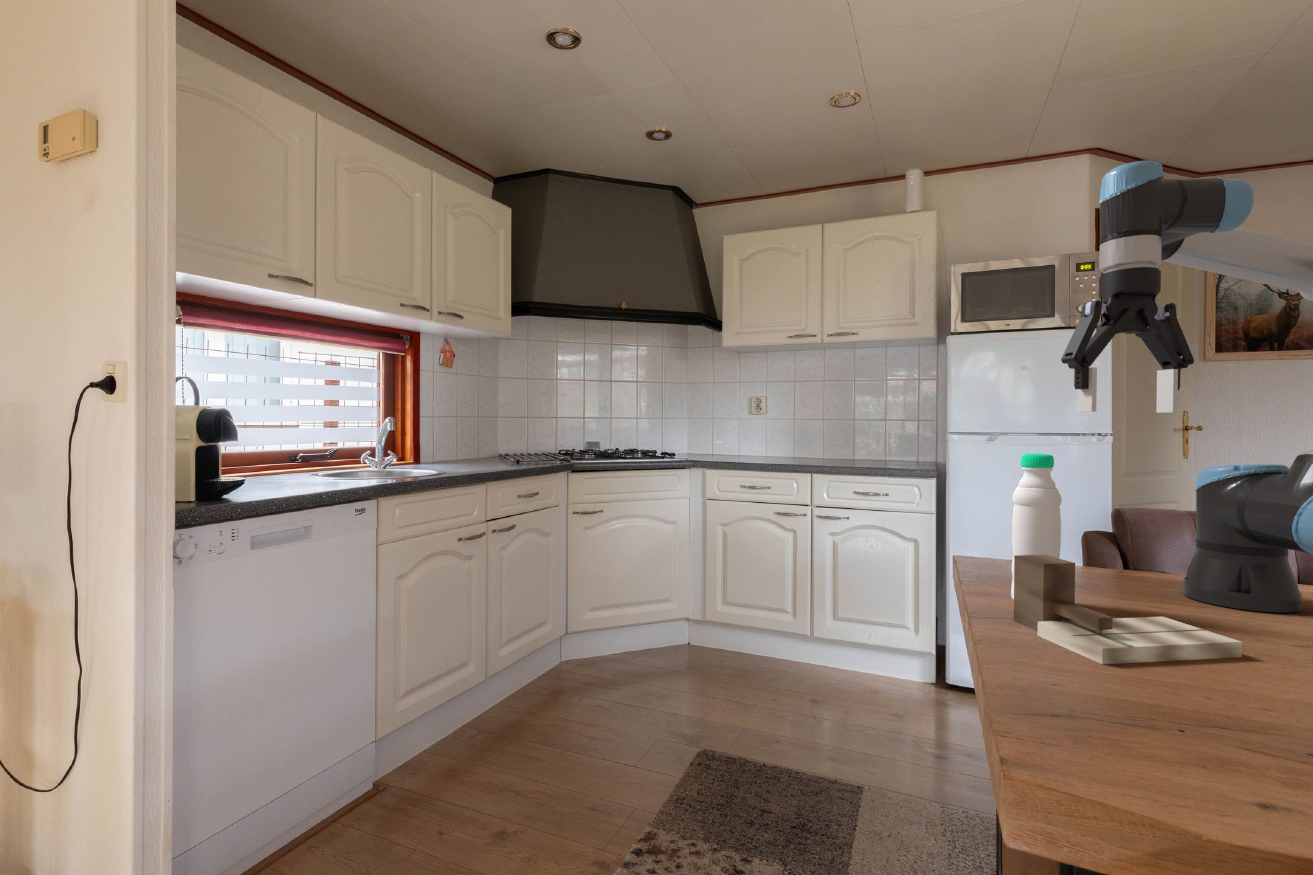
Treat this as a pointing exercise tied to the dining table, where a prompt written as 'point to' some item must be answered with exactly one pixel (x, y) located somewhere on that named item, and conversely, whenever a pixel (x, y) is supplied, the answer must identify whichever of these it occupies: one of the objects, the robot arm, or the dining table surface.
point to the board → (1140, 641)
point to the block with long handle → (1050, 593)
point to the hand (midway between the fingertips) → (1126, 412)
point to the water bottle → (1036, 510)
